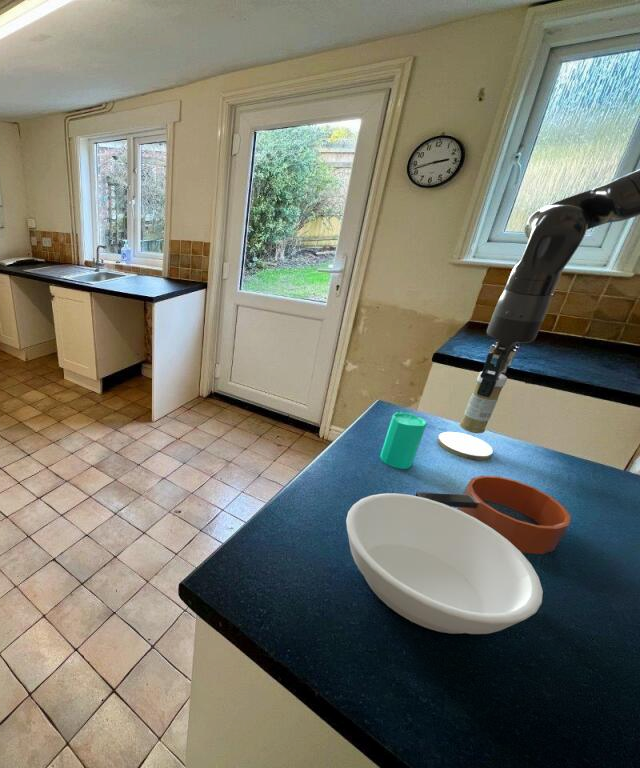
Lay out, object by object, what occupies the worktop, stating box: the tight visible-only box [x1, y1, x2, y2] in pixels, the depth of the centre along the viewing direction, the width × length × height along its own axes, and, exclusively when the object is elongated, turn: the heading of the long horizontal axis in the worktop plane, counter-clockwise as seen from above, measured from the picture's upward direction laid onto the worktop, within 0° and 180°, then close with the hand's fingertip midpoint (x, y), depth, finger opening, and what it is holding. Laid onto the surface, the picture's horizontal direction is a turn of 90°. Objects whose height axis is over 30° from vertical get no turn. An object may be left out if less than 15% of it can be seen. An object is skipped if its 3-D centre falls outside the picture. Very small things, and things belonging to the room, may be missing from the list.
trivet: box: [437, 431, 494, 461], centre depth 95 cm, size 10×10×1 cm
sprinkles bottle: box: [459, 370, 508, 434], centre depth 90 cm, size 5×5×14 cm
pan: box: [414, 474, 572, 555], centre depth 72 cm, size 22×13×6 cm, turn 84°
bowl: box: [345, 492, 544, 635], centre depth 60 cm, size 22×22×8 cm
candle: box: [379, 411, 427, 470], centre depth 88 cm, size 6×6×12 cm
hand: (486, 391), depth 89 cm, fingers closed on sprinkles bottle, 4 cm apart
